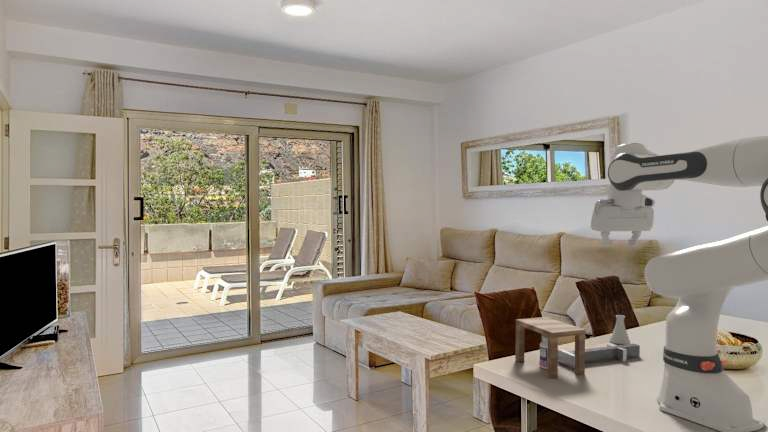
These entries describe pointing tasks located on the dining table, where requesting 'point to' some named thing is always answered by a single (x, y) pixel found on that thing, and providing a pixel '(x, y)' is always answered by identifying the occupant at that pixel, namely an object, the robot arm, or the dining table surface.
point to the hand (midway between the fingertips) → (619, 246)
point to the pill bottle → (544, 352)
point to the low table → (551, 341)
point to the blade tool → (601, 354)
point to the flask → (620, 332)
